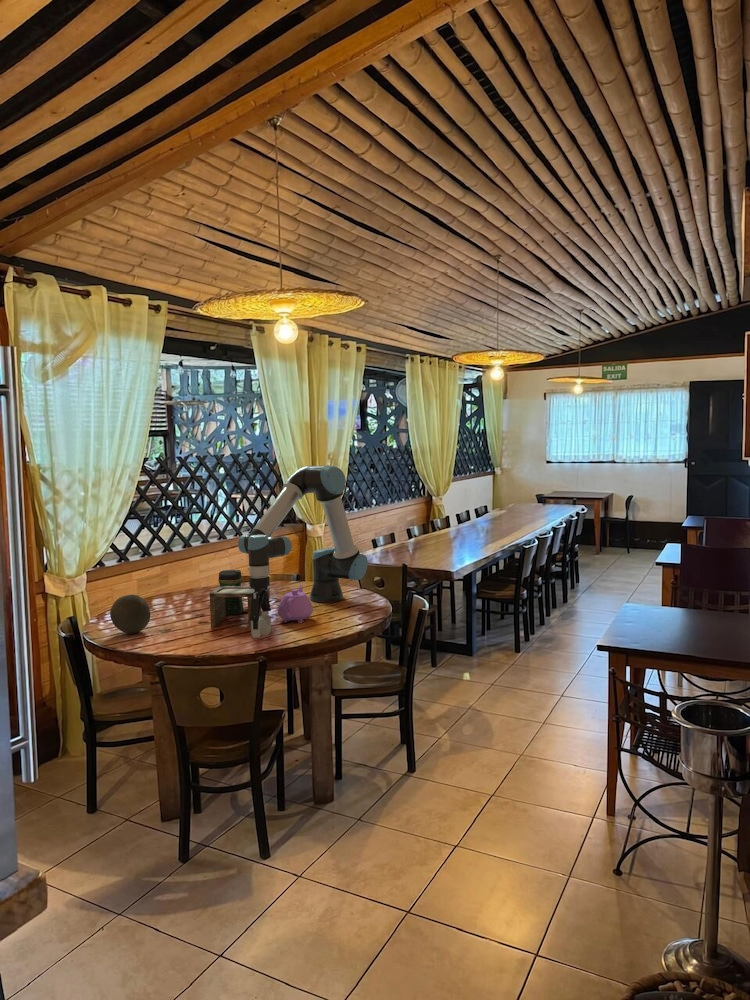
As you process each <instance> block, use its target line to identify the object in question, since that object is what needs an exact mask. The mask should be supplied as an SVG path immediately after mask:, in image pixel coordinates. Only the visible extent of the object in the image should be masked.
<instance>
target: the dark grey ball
mask: <svg viewBox="0 0 750 1000" xmlns="http://www.w3.org/2000/svg"><path fill="white" fill-rule="evenodd" d="M109 615H110V620H111V623H112V624H113V626H114V627H115V628H117V630H119V631H120V632H122V633H125V634H129V635H130V634H131V635H132V633H133V634H137V633H140V632H142V631H143V630H144V629H145V628H146V627H147V626H148V624H149V623H150V620H151V609H150V605H149V604H148V602H147V600H145V599H144V598H143V597H141V596H139V595H137V594H127V595H123V596H120V597H118V598H117V599H116V600H115V601H114V602H113V604H112V606H111V608H110V612H109Z"/></svg>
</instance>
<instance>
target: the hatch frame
mask: <svg viewBox="0 0 750 1000" xmlns="http://www.w3.org/2000/svg"><path fill="white" fill-rule="evenodd" d="M223 589H254V588H251V587H250V586H248V585H247V586H245V585H244V586H242V585H241V586H220V585H219V586H218V587H217V588H215V589H214V590H212V591H211V592H209V613H210V614H209V616H210V617H209V618H210V627H211V628H216V627H217V626H219V625H220V624H221V623H222V622H223V621H225V620H226V618H227V617H226V616H227V615H226V611H225V597H242V598H247V620H248V626H247V627H248V628H251V621H250V613H251V601H252V595H251V594H252V593H253V592H219V591H221V590H223ZM261 612H262V608H260V614H259V616H261ZM254 617H255V616H254Z"/></svg>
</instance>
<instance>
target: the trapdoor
mask: <svg viewBox="0 0 750 1000" xmlns="http://www.w3.org/2000/svg"><path fill="white" fill-rule="evenodd" d="M254 590H255V589H223V590H221V591H219V592H253V593H254ZM268 596H269V599H270V587H268Z"/></svg>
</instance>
